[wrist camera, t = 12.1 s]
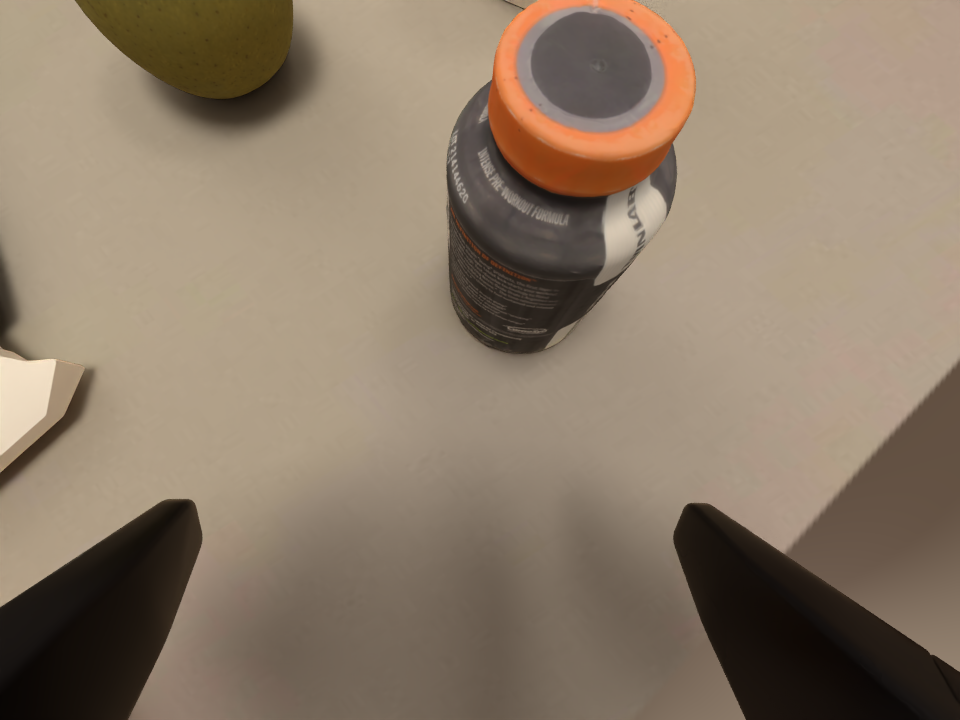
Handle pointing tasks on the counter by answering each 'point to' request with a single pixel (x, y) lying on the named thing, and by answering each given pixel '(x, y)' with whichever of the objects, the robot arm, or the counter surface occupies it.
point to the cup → (522, 2)
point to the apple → (199, 40)
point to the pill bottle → (562, 166)
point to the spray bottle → (31, 400)
